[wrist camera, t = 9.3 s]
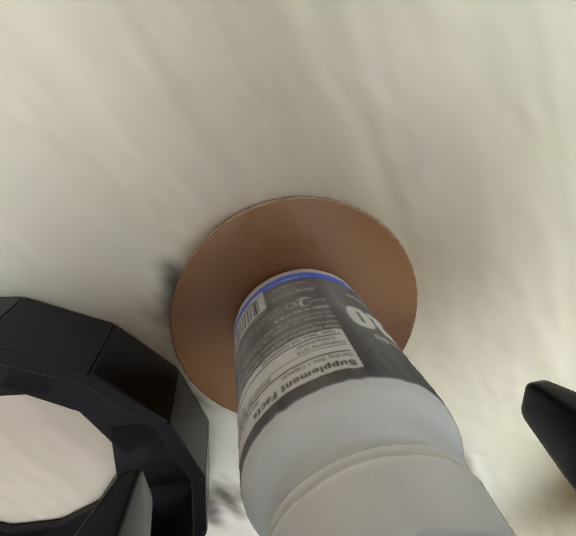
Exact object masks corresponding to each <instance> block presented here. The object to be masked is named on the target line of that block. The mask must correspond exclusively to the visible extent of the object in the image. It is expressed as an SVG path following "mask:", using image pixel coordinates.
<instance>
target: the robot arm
mask: <svg viewBox="0 0 576 536" xmlns="http://www.w3.org/2000/svg"><path fill="white" fill-rule="evenodd" d="M521 410H522V415H523V417H524V419H525V421H526V422H527V423H528V425H529V426H530V428H531V429H532V431H533V432H534V434H535V435H536V436H537V438H538V439H539V441H540V442H541V444H542V445H543V446H544V448H545V449H546V451H547V452H548V454H549V455H550V456H551V458H552V459H553V461H554V462H555V464H556V465H557V467H558V468H559V469H560V471H561V472H562V474H563V475H564V476H565V478H566V479H567V480H568V482H569V483H570V484H571V486H572V487H573V488H574V489H575V491H576V392H574V391H572V390H569V389H567V388H564V387H562V386H559V385H557V384H554V383H552V382H549V381H546V380H540V381H536V382H531V383H529V384H527V386H526V388H525V392H524V397H523V402H522V407H521ZM151 520H152V495H151V492H150V489H149V486H148V484H147V481H146V478H145V476H144V473H143V471H142V470H140V469H136V470H131V471H127V472H123V473H121V474H120V475H119V476H118V477H117V478H116V479H115V481H114V482H113V483H112V485H111V486H110V488H109V489H108V490H107V492H106V493H105V494H104V496H103V497H102V498H101V500H100V501H99V502H98V504H97V505H96V506H95V508H94V509H93V511H92V512H91V513H90V515H89V516H88V517H87V519H86V520H85V521H84V523H83V524H82V525H81V527H80V528H79V530H78V531H77V532H76V534H75V535H74V536H150V534H151Z"/></svg>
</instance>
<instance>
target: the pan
mask: <svg viewBox="0 0 576 536" xmlns="http://www.w3.org/2000/svg"><path fill="white" fill-rule="evenodd" d="M22 394H27V395H30V396H33V397H36V398H39V399H42V400H45V401H48V402H52V403H55V404H58V405H61V406H64V407H67V408H70V409H73V410H76V411H79V412H81V413H82V414H83V415H84V416H85V417H86V418H87V419H88V420H89V421H90V422H91V423H92V424H93V425H95V426H96V427H97V428H98V429H99V430H100V431H101V432H102V433H103V434H104V435H105V436H106V437H107V438H108V439H109V440H110V441H111V442H112V445H113V452H114V458H115V465H116V472H117V474H116V476H115V477H114V479H113V480H112V482H111V483H110V485H109V486H108V488H107V489H106V491H105V492H104V494H105V493H106V492H107V490H108V489H109V488H110V486H111V485H112V483H113V482H114V481H115V479H116V478H117V477H118V476H119V475H120V474H121V473H123V472H127V471H131V470H136V469H140V470H142V471H143V473H144V476H145V478H146V481H147V484H148V486H149V489H150V492H151V495H152V520H151V534H150V536H205V535H206V533H207V523H208V494H209V422H208V419H207V417H206V416H205V414H204V412H203V411H202V409H201V407H200V405H199V404H198V402H197V400H196V399H195V397H194V395H193V394H192V392H191V390H190V389H189V387H188V385H187V383H186V382H185V380H184V378H183V377H182V375H181V373H180V372H179V370H177V368H176V367H175V366H173V365H172V364H170V363H169V362H168V361H166V360H165V359H163V358H162V357H161V356H159V355H158V354H156V353H155V352H154V351H152V350H151V349H149V348H148V347H147V346H145V345H144V344H142V343H141V342H140V341H138V340H137V339H135V338H134V337H133V336H131V335H130V334H128V333H127V332H126V331H124V330H123V329H121V328H120V327H119V326H117V325H115V326H114V324H113V323H110V322H107V321H103V320H100V319H97V318H93V317H90V316H87V315H83V314H80V313H76V312H73V311H70V310H66V309H63V308H60V307H56V306H53V305H50V304H46V303H43V302H40V301H36V300H33V299H29V298H23V297H0V396H4V395H22ZM104 494H103V495H102V497H103V496H104ZM102 497H101V498H102ZM101 498H100V500H101ZM100 500H99V501H100ZM99 501H97V502H95V503H93V504H91V505H89V506H87V507H85V508H83V509H81V510H79V511H77V512H75V513H73V514H71V515H69V516H67V517H65V518H63V519H61V520H53V521H44V522H35V523H27V524H18V525H9V524H4V523H0V536H74V535H75V534H76V532H77V531H78V530H79V528H80V527H81V525H82V524H83V523H84V521H85V520H86V519H87V517H88V516H89V515H90V513H91V512H92V511H93V509H94V508H95V506H96V505H97V504H98V502H99Z"/></svg>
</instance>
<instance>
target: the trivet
mask: <svg viewBox="0 0 576 536" xmlns="http://www.w3.org/2000/svg"><path fill="white" fill-rule="evenodd" d="M297 269H314V270H320V271H324V272H327V273H330V274H332V275H335V276H337V277H339V278H340V279H342V280H343V281H344V282H346V283H347V284H348V285H349V286H350V287H351V288H352V289H353V290H354V291H355V292H356V294H357V295H358V296H359V297H360V299H361V300H362V301H363V303H364V304H365V305H366V307H367V308H368V309H369V310H370V311H371V313H372V314H373V315H374V316H375V317H376V318H377V320H378V321H379V322H380V323H381V325H382V326H383V327H384V328H385V330H386V331H387V333H388V334H389V335H390V337H391V338H392V339H393V340H394V342H395V343H396V344H397V345H398V347H399V348H400V349H401V350H402V351H403V350H404V348H405V346H406V344H407V342H408V339H409V337H410V335H411V332H412V328H413V325H414V322H415V316H416V310H417V287H416V279H415V275H414V272H413V268H412V265H411V263H410V260H409V258H408V256H407V254H406V252H405V250H404V249H403V247H402V246H401V244H400V243H399V241H398V240H397V239H396V237H395V236H394V235H393V234H392V233H391V232H390V231H389V230H388V229H387V228H386V227H385V226H384V225H382V224H381V223H380V222H379V221H378V220H376V219H375V218H373V217H372V216H370V215H368V214H367V213H365V212H363V211H361V210H360V209H358V208H356V207H353V206H351V205H348V204H346V203H343V202H340V201H336V200H332V199H328V198H320V197H311V196H304V197H287V198H281V199H275V200H271V201H268V202H264V203H261V204H258V205H255V206H253V207H250V208H248V209H246V210H244V211H241V212H239V213H238V214H236V215H234V216H233V217H231V218H229V219H228V220H226V221H225V222H223V223H222V224H221V225H219V226H218V227H217V228H216V229H214V230H213V231H212V232H211V233H210V234H209V235H208V236H207V237H206V238H205V239H204V240H203V241H202V242H201V243H200V244H199V245H198V246H197V248H196V249H195V251H194V252H193V253H192V255H191V256H190V258H189V259H188V260H187V262H186V264H185V266H184V268H183V270H182V272H181V274H180V276H179V279H178V282H177V285H176V288H175V291H174V295H173V300H172V306H171V311H170V329H171V336H172V343H173V346H174V349H175V352H176V356H177V358H178V360H179V362H180V364H181V366H182V368H183V370H184V371H185V373H186V374H187V375H188V377H189V378H190V380H191V381H192V382H193V383H194V384H195V385H196V386H197V388H198V389H199V390H200V391H201V392H203V393H204V394H205V395H206V396H208V397H209V398H210V399H211V400H213V401H214V402H216V403H218V404H219V405H221V406H223V407H225V408H227V409H229V410H231V411H234V412H236V413H237V396H236V382H235V362H234V326H235V321H236V317H237V314H238V312H239V310H240V307H241V305H242V304H243V302H244V300H245V299H246V297H247V296H248V295H249V294H250V293H251V292H252V291H253V290H254V289H255V288H256V287H257V286H259V285H260V284H262V283H263V282H265V281H266V280H268V279H269V278H271V277H274V276H276V275H278V274H281V273H284V272H288V271H292V270H297Z"/></svg>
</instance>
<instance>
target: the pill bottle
mask: <svg viewBox="0 0 576 536" xmlns="http://www.w3.org/2000/svg"><path fill="white" fill-rule="evenodd" d="M234 362H235V382H236V396H237V414H238V443H239V470H240V488H241V497H242V500H243V504H244V507H245V510H246V514H247V516H248V518H249V520H250V522H251V524H252V526H253V527H254V529H255V530H256V532H257V533H258V534H259V535H260V536H516V535H515V533H514V532H513V530H512V529H511V527H510V526H509V524H508V523H507V521H506V520H505V518H504V517H503V515H502V514H501V512H500V510H499V509H498V507H497V506H496V504H495V503H494V501H493V500H492V498H491V496H490V495H489V493H488V491H487V490H486V488H485V486H484V485H483V483H482V482H481V481H480V480H479V479H478V478H477V477H476V476H475V475H474V474H472V473H471V471H470V470H469V469H468V467H467V466H466V465H465V464H464V452H463V444H462V438H461V435H460V432H459V429H458V426H457V424H456V422H455V420H454V418H453V416H452V415H451V413H450V411H449V410H448V408H447V407H446V405H445V404H444V402H443V401H442V400H441V398H440V397H439V396H438V395H437V394H436V392H435V391H434V389H433V388H432V387H431V386H430V385H429V384H428V383H427V381H426V380H425V379H424V378H423V376H422V375H421V374H420V372H419V371H418V370H416V368H415V367H414V366H413V365H412V364H411V362H410V361H409V360H408V358H407V357H406V355H405V354H404V353H403V351H402V350H401V349H400V348H399V347H398V345H397V344H396V343H395V342H394V340H393V339H392V338H391V337H390V335H389V334H388V333H387V331H386V330H385V328H384V327H383V326H382V325H381V323H380V322H379V321H378V320H377V318H376V317H375V316H374V315H373V314H372V313H371V311H370V310H369V309H368V308H367V307H366V305H365V304H364V303H363V301H362V300H361V299H360V297H359V296H358V295H357V294H356V292H355V291H354V290H353V289H352V288H351V287H350V286H349V285H348V284H347V283H346V282H344V281H343V280H342V279H340V278H339V277H337V276H335V275H332V274H330V273H327V272H324V271H320V270H314V269H297V270H292V271H288V272H284V273H281V274H278V275H276V276H274V277H271V278H269V279H268V280H266V281H265V282H263V283H262V284H260V285H259V286H257V287H256V288H255V289H254V290H253V291H252V292H251V293H250V294H249V295H248V296H247V297H246V299H245V300H244V302H243V304H242V305H241V307H240V310H239V312H238V314H237V317H236V321H235V326H234Z"/></svg>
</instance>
